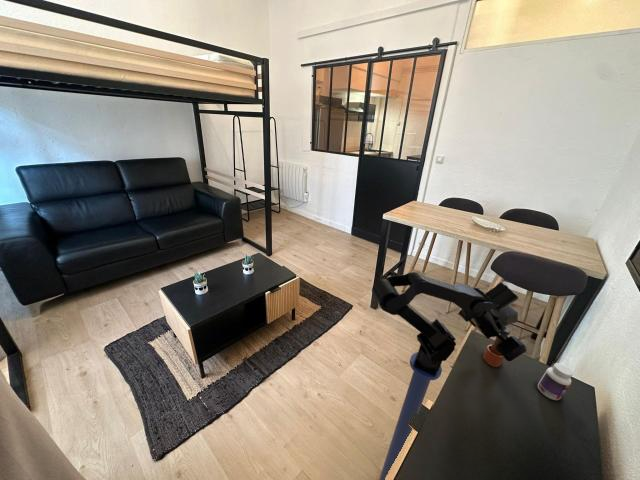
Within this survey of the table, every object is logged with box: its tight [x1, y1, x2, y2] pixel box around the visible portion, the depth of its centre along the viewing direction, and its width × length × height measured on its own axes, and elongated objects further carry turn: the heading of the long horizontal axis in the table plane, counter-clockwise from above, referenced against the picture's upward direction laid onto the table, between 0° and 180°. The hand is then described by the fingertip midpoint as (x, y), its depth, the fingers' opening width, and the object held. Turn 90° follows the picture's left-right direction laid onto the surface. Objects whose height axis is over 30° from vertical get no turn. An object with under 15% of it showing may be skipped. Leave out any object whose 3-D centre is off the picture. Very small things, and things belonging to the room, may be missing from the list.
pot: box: [482, 344, 505, 368], centre depth 83 cm, size 5×5×4 cm
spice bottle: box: [490, 328, 511, 356], centre depth 81 cm, size 3×3×13 cm
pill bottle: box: [537, 362, 574, 401], centre depth 73 cm, size 5×5×10 cm
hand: (500, 343), depth 81 cm, fingers open, 9 cm apart
